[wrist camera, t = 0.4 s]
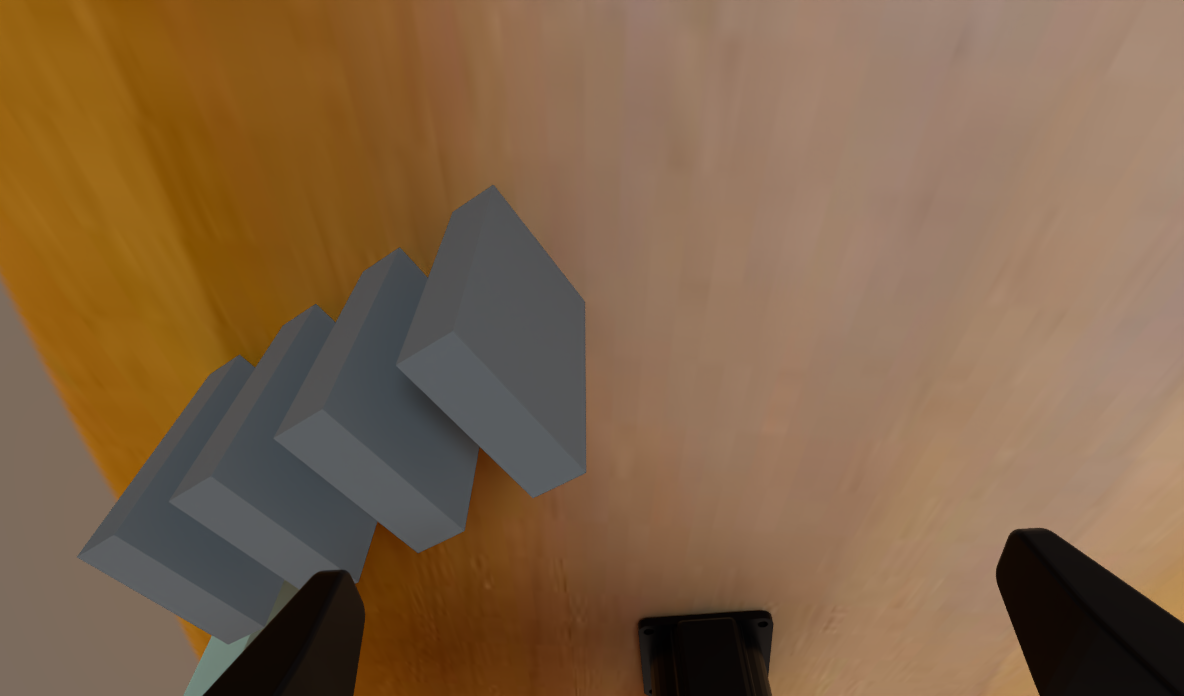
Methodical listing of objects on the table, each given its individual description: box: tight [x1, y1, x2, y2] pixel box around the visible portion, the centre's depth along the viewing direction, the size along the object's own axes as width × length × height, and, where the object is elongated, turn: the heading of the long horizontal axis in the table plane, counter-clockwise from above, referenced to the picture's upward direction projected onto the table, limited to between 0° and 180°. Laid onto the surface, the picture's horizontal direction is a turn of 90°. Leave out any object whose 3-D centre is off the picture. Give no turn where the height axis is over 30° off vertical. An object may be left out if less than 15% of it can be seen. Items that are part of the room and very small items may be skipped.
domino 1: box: [77, 355, 284, 645], centre depth 23 cm, size 2×5×8 cm, turn 34°
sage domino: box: [183, 580, 299, 696], centre depth 29 cm, size 2×5×8 cm, turn 5°
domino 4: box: [396, 185, 586, 498], centre depth 19 cm, size 2×5×8 cm, turn 33°
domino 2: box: [168, 304, 377, 590], centre depth 21 cm, size 2×5×8 cm, turn 34°
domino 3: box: [273, 247, 479, 553], centre depth 20 cm, size 2×5×8 cm, turn 33°
